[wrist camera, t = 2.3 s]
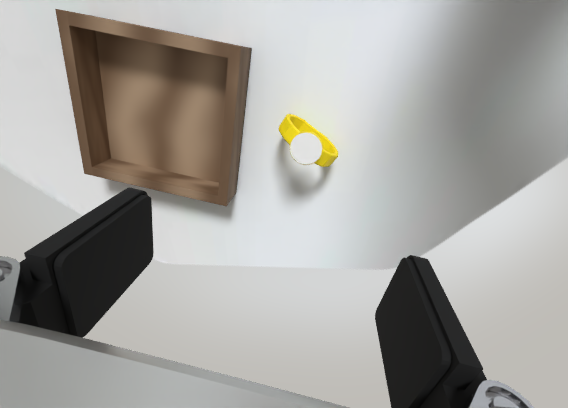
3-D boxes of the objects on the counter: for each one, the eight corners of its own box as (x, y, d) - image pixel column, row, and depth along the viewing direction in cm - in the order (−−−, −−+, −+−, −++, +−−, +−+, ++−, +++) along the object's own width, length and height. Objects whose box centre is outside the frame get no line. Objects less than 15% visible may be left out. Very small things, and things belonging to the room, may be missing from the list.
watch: (281, 127, 29) (266, 139, 24) (296, 104, 28) (284, 111, 22) (326, 162, 30) (321, 181, 24) (343, 141, 28) (343, 157, 23)
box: (251, 48, 26) (241, 46, 23) (236, 192, 33) (226, 206, 30) (87, 14, 26) (55, 8, 23) (106, 163, 34) (84, 173, 30)
